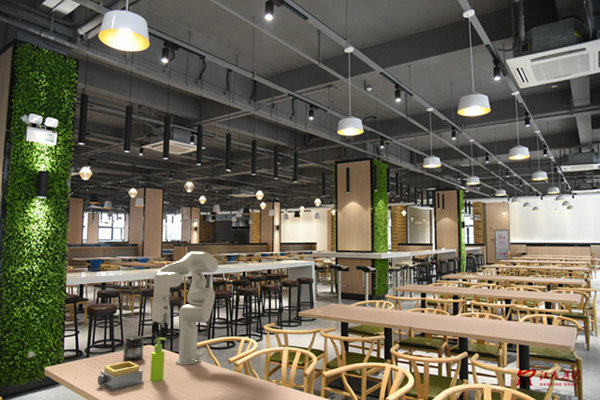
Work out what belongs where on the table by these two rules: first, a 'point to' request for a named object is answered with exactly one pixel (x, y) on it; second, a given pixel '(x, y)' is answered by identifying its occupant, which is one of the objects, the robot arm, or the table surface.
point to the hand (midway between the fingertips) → (159, 333)
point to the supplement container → (133, 348)
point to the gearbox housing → (120, 376)
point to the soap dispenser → (157, 362)
